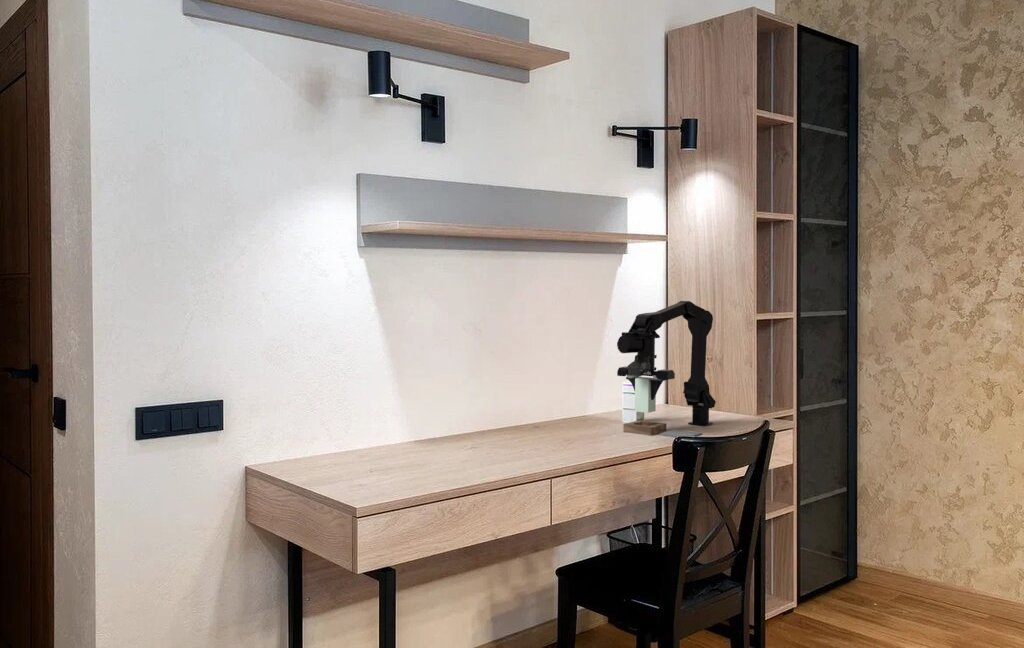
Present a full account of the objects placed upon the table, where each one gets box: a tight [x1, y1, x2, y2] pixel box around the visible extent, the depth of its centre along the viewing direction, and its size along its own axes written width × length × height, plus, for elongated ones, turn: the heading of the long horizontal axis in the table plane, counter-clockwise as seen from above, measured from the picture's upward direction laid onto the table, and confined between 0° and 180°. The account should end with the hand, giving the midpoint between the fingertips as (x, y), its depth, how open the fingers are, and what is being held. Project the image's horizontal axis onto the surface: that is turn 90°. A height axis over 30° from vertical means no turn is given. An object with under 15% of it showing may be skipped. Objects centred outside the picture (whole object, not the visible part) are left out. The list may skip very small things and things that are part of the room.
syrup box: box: [621, 380, 645, 424], centre depth 299 cm, size 6×6×14 cm
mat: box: [659, 428, 702, 438], centre depth 276 cm, size 10×10×1 cm
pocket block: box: [622, 420, 668, 436], centre depth 282 cm, size 10×10×2 cm
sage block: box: [635, 376, 657, 414], centre depth 281 cm, size 5×5×11 cm
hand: (645, 399), depth 281 cm, fingers closed on sage block, 5 cm apart
